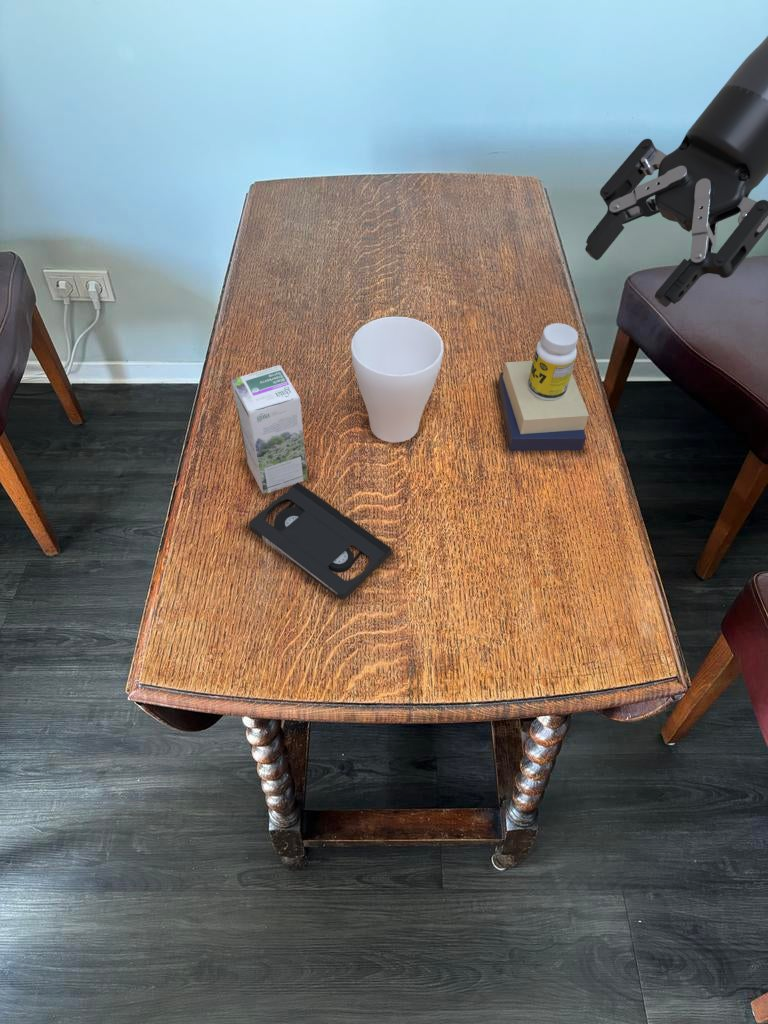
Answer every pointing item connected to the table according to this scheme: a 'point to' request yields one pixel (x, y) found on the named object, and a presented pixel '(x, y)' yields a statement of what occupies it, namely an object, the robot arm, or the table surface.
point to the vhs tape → (319, 540)
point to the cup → (396, 373)
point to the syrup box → (271, 428)
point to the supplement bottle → (553, 362)
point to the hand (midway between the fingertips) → (624, 278)
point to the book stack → (540, 413)
